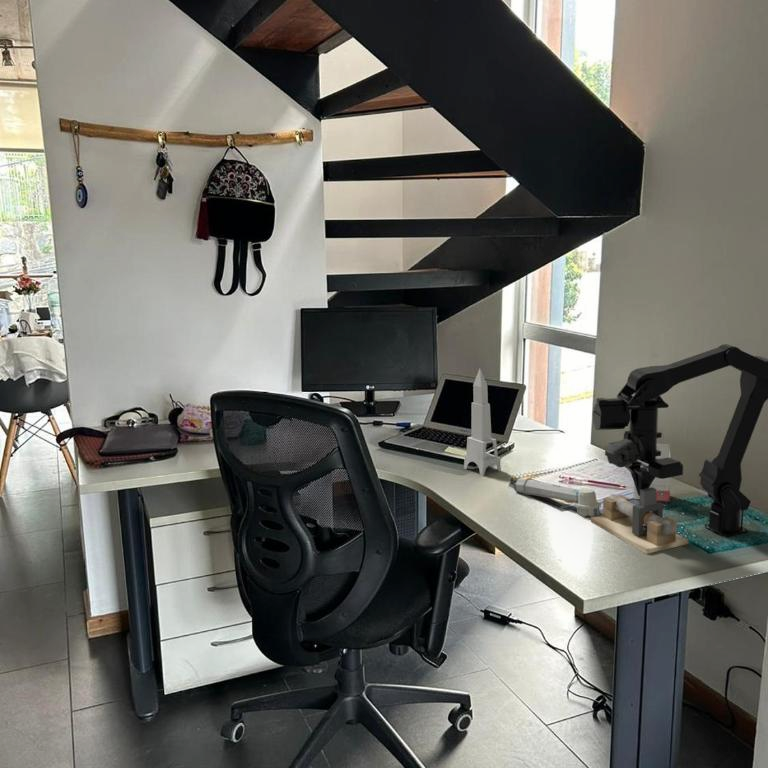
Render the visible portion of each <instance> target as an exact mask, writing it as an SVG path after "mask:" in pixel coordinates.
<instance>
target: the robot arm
mask: <svg viewBox="0 0 768 768" xmlns="http://www.w3.org/2000/svg"><path fill="white" fill-rule="evenodd" d="M729 366H730V367H732V368H734V369H736V370H738V371H740V378H739V385H740V387H739V388H740V397H739V400H738V402H737V403H736V404H737V405H736V407H735V409H734V413H733V415H732V417H731V420H730V423H729V426H728V428H727V430H726V433H725V436H724V438H723V442H722V443H721V444H722V445H721V447H720V449H719V451H718V454H717V456H716V457H714V458H713V460H712V461H711V460H709V459H705V460H704V462H703V467H702V470H701V472H700V473H698V476H699V477H700V478H699V479H700V481H699V482H700V485H701V488H702V489H703V490H704V491H705V492H706V493H707V495H708V496H707V497H708V498H710V499H711V500H713V502H711V503H710V505H711V506H710V510H709V523H706V524H704V527H705V526H707V525H708V526H707V527H709V528H710V529H712V530H714V531H713V532H715V531H716V532H715V533H717V532H718V533H717V534H719V533H720V534H719V535H721V536H723V535H724V537H725V536H729V537H731V536H730V535H733V536H736V535H735V534H737V535H740V534H744V533H748V532H749V529H748V528H746V527H744V512H745V511H747V510H748V509H749V506H750V505H751V499H749V498H748V497H747V496H746V495H745V494H743V493H742V491H741V486H742V481H743V477H742V461H743V459H744V456H745V454H746V452H747V450H748V446H749V443H750V441H751V439H752V436H753V433H754V431H755V428H756V426H757V423H758V421H759V418H760V415H761V413H762V410H763V408H764V405H765V403H766V402H767V401H768V358H767V357H764V356H760V355H755V356H754V355H752V354H751V353H750V354H749V353H748V352H745V351H743V350H742V349H740V348H739V347H737V346H734V345H731V344H728V343H727V344H726V343H724V344H721V345H720V346H718V347H716V348H715V347H714V348H712V349H710V350H707V351H705V352H700V353H698V354H695V355H693V356H690V357H686V358H684V359H680V360H678V361H675V362H671V363H670V364H664V365H650V366H645V367H639V368H635V369H634V370H632V371H631V372H630V373H629V375H628V377H627V381H626V383H625V385H624V386H623V387H622V388H621V389H620V391H619V393H618V394H617V395H616V398H615V397H614V398H604V397H598V398H596V401H595V402H596V403H595V404H594V408H593V410H592V423H593V426H594V428H595V431H607V430H624V429H625V428H626V427H629V429H628V430H625V431H624V433H623V439H621V440H619V441H613V442H608V443H607V444H606V446H605V447H604V448H605V449H604V453H605V454H604V455H605V457H606V458H607V461H608V464H611V465H614V466H616V467H618V468H626V469H627V470H628V471H629V472H630V475H631V477H632V480H633V484H634V483H635V486H636V490H637V493H638V495H639V496H640V490H641V489H646V488H649V487H650V485H651V483H652V482H653V480H654V479H655V477H657V478H660V479H664V478H669V477H670V478H673V477H679V476H683V474H684V465H683V464H682V462H681V461H679V460H676V459H673V458H671V457H670V458H669V457H668V458H663V459H658V458H656V456H661V451H659V450H658V449H657V444H658V439H660V438H662V434H663V433H662V432H661V431H658V421H659V409H664V408H665V409H668V408H669V406H670V405H669V404H668V403H667V402H666V401H664V399H663V398H662V395H664V394H665V393H668V392H669V391H670V390H672V388H673V387H675V386H677V385H678V384H681V383H682V382H686V381H689V380H692V379H695V378H699V377H701V376H704V375H706V374H707V375H708V374H710V373H712V372H715V371H718V370H720V369H725V368H726V367H727V368H728V367H729ZM710 529H709V530H710ZM712 530H711V531H712Z"/></svg>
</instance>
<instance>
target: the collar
mask: <svg viewBox="0 0 768 768" xmlns="http://www.w3.org/2000/svg"><path fill="white" fill-rule="evenodd" d="M656 491H657V489H655V488H653V487H651V488H646V489H641V490H640V499H639V504H635V505H633V518H632V533H633V534H635V535H637V536H642V535H647V526H645V525H643V513H646V512H652V513H654V514H655V515H657V516H659V517H661V518H662V517H663V515H664V513H663V511H664V503H663V502H662V501H656Z"/></svg>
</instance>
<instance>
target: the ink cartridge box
mask: <svg viewBox="0 0 768 768" xmlns="http://www.w3.org/2000/svg"><path fill="white" fill-rule="evenodd" d="M670 449H671V446H670V444H661V443H657V450H659V451H661V456H656V458H658V459H663V458H668V457H669V458H671V451H670ZM651 487H653V488H655V489H657V491H656V501H659V502H666V503H669V502H670V499H671V498H670V494H671V493H670V492H671V477H669V478H664V479H660V478H657V477H655V479H654V480H653V482H652V483H651V485H650V487H649V488H651ZM633 499H634V500H640V496H639V495H638V493H637V490H636V486H635V483H634V482H633Z"/></svg>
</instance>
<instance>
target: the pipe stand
mask: <svg viewBox="0 0 768 768" xmlns="http://www.w3.org/2000/svg"><path fill="white" fill-rule="evenodd" d="M602 500H603V501H602V503H603V504H602V515H598V516H594V517H590V523H592V524H594V525H596V526H598V527H599V528H601V529H603V530H604V531H605V532H608V533H610V534H611V535H613V536H615V537H617V538H618V539H620V540H622V541H623V542H625V543H627V545H628V544H629V545H631V546H632V547H634V548H636V549H637V550H639V551H640V552H643V553H644V554H646V555H647V554H652V553H655V552H661V551H664V550H667V549H672V548H676V547H681V546H686V545H688V544H689V539H688V538H687V537H684V536H682V535H680V534H678V533H677V521H676V520H674V519H672V518H671V517H668V516H664V517H662V518H661V517H659V516H657V515H655V514H654V513H652V511H650V512H646V513H643V525H645V526H647V535H642V536H637V535H635V534H633V533H632V518H633V505H636V504H635V503H633V502H631V501H630V498H629V497H627V496H625V495H623V494H617V495H616V494H613V493H611V494H610V495H609V496H606V497H603V499H602Z"/></svg>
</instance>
